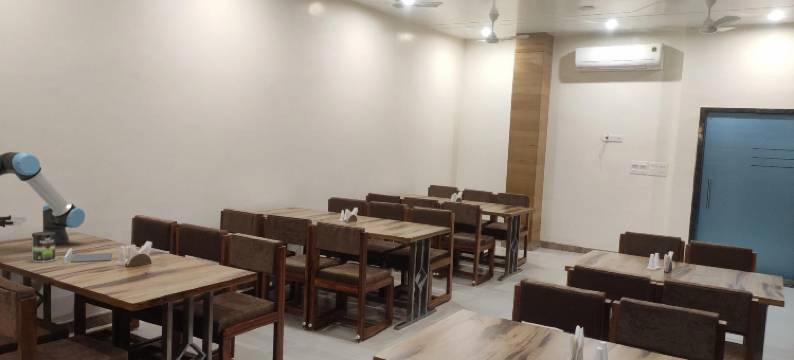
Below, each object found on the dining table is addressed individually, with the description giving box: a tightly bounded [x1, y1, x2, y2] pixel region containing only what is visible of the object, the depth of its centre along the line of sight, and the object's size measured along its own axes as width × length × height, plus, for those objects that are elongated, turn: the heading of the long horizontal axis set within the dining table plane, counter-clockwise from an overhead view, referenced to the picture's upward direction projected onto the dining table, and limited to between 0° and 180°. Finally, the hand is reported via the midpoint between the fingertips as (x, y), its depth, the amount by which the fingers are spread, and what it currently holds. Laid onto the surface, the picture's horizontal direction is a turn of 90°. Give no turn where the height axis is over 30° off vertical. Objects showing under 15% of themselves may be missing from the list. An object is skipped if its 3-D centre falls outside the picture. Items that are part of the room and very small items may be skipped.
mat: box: [70, 252, 113, 263], centre depth 307 cm, size 18×18×1 cm
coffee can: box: [31, 231, 56, 263], centre depth 298 cm, size 10×10×14 cm
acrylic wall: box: [63, 247, 73, 265], centre depth 303 cm, size 24×1×4 cm, turn 23°
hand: (23, 221), depth 294 cm, fingers open, 13 cm apart
